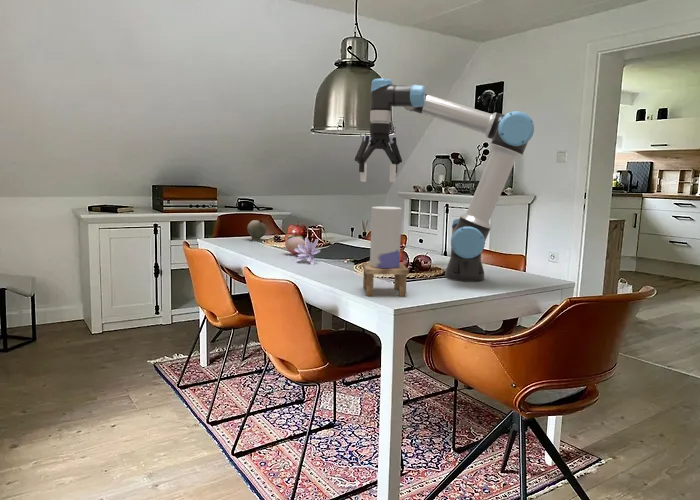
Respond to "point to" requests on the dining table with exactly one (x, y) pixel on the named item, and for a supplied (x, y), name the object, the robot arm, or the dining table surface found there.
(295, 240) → the decorative fruit
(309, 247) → the water lily
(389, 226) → the container
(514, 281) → the dining table surface
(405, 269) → the stool
